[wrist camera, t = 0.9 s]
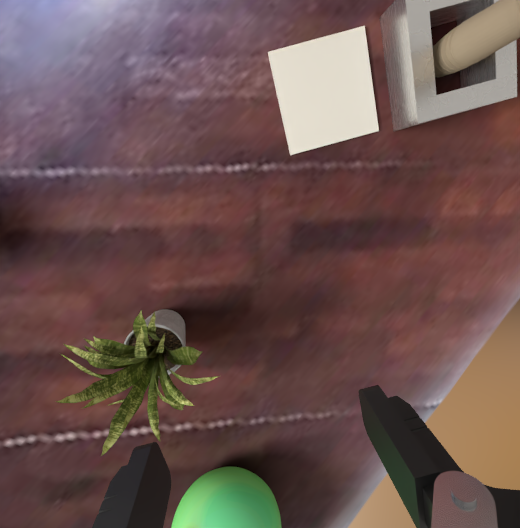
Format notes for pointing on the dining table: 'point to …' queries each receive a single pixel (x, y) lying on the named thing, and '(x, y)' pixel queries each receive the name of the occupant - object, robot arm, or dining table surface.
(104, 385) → the house plant
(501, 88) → the collar
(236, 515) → the toy bird
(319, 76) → the mat
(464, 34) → the handle
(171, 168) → the dining table surface
